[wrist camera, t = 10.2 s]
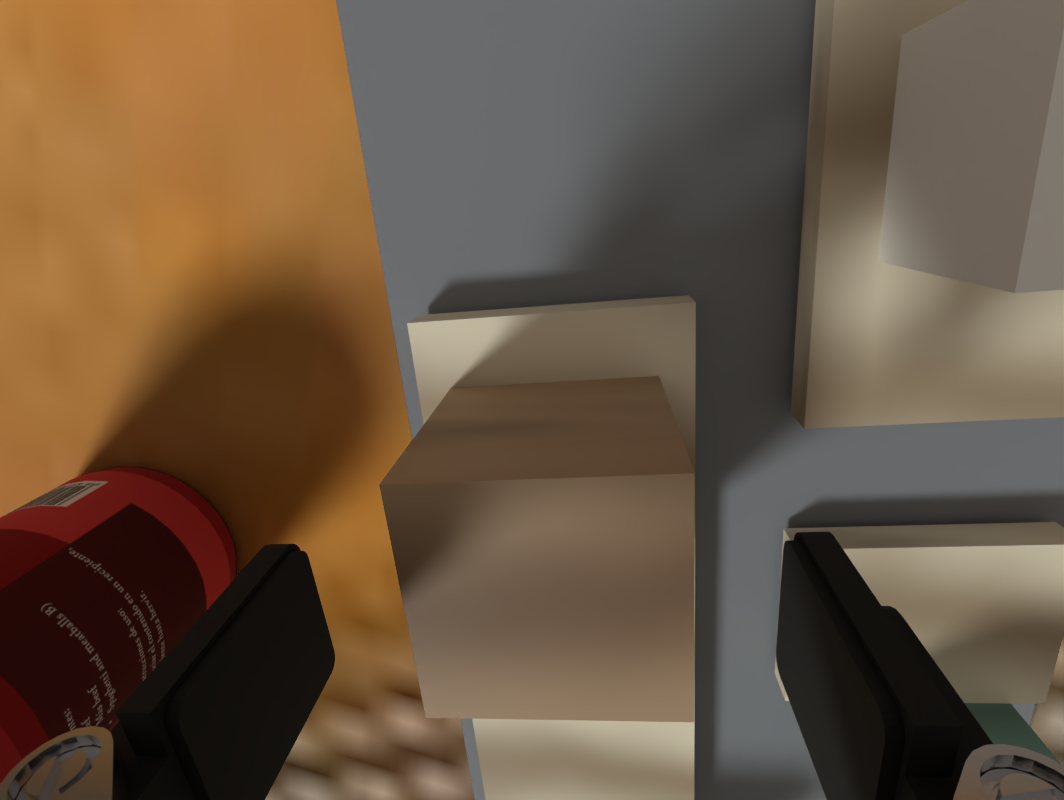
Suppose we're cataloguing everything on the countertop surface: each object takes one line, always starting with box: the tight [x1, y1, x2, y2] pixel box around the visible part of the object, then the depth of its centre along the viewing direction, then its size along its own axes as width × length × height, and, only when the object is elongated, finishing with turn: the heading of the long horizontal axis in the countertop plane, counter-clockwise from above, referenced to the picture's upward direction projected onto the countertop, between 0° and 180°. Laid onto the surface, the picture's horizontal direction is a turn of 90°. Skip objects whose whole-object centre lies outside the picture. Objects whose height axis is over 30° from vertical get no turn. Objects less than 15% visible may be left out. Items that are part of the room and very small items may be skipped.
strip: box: [407, 295, 696, 800], centre depth 17 cm, size 25×8×8 cm, turn 5°
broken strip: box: [775, 0, 1064, 763], centre depth 13 cm, size 25×8×8 cm, turn 5°
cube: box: [380, 376, 695, 722], centre depth 15 cm, size 6×6×6 cm
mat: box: [336, 0, 1064, 800], centre depth 20 cm, size 37×21×1 cm, turn 5°
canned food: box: [0, 467, 237, 784], centre depth 18 cm, size 8×8×11 cm
